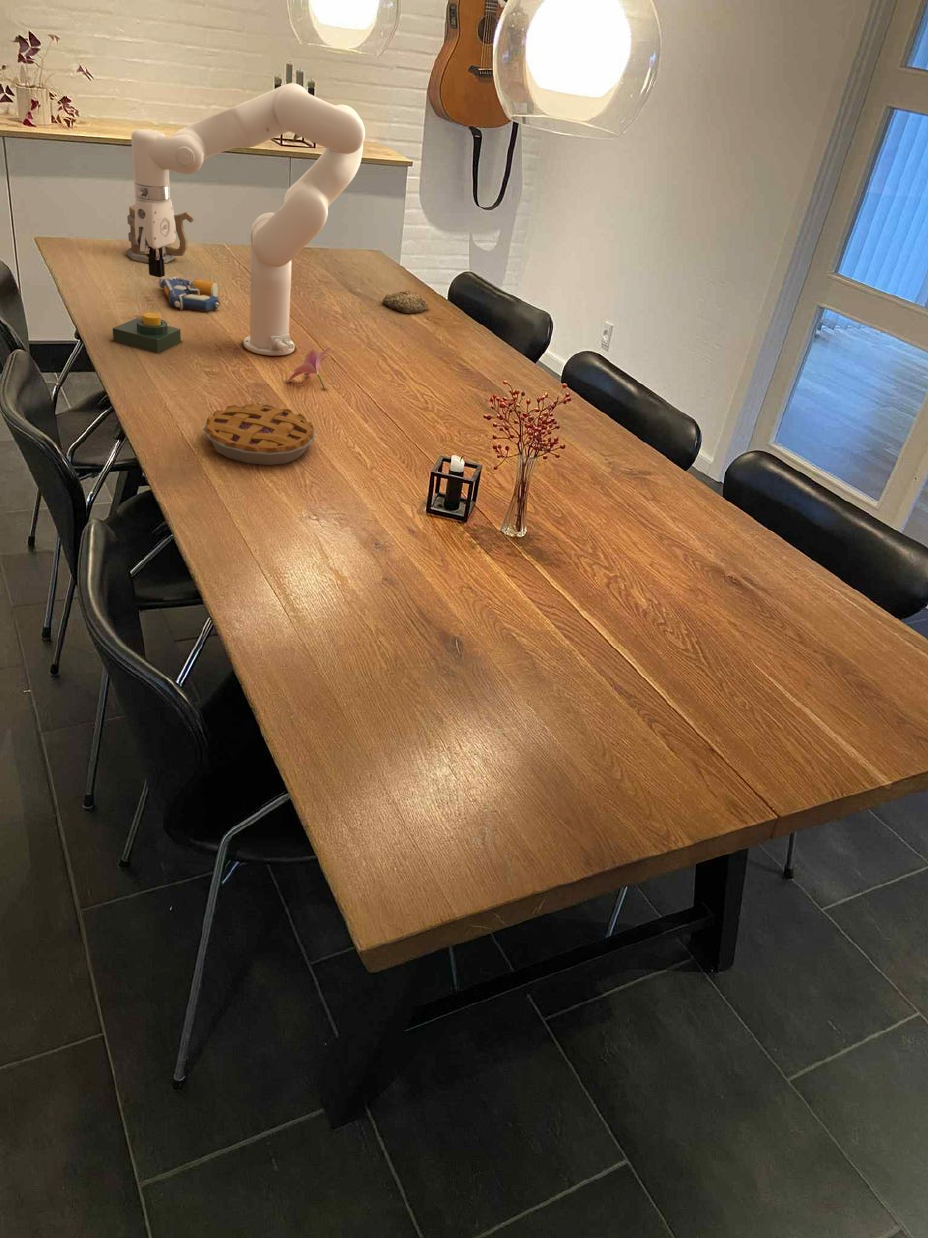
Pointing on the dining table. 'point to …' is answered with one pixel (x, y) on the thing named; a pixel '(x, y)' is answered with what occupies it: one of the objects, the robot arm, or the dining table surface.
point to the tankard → (170, 251)
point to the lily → (310, 364)
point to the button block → (147, 335)
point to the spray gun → (191, 293)
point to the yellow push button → (151, 319)
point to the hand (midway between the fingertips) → (157, 275)
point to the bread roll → (406, 302)
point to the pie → (259, 434)
